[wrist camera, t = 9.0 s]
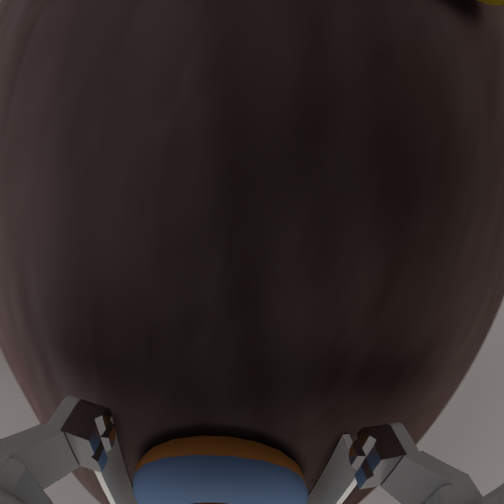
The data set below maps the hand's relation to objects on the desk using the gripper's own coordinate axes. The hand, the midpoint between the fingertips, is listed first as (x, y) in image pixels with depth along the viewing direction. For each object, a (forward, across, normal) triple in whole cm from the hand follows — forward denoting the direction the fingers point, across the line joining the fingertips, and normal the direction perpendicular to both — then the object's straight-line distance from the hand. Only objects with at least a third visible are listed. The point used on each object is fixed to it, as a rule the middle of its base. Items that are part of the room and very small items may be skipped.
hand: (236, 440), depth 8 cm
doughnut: (+4, 0, +9) cm, 10 cm away
